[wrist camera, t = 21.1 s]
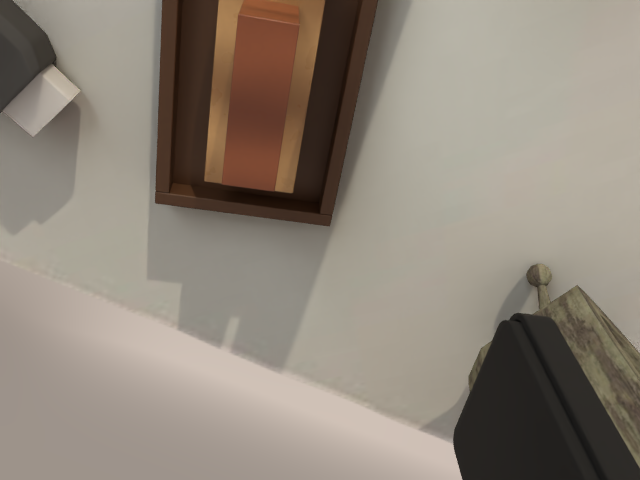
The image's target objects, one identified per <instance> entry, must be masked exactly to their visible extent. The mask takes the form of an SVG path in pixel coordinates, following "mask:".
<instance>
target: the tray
mask: <svg viewBox="0 0 640 480" xmlns="http://www.w3.org/2000/svg"><path fill="white" fill-rule="evenodd" d="M218 2H219V0H162V24H161V53H160V81H159V109H158V137H157V165H156V192H155V203H157V204H165V205H172V206H180V207H187V208H195V209H202V210H210V211H217V212H225V213H232V214H240V215H248V216H255V217H263V218H270V219H278V220H285V221H293V222H300V223H308V224H315V225H323V226H330V224H331V219H332V214H333V210H334V205H335V200H336V196H337V191H338V186H339V181H340V177H341V172H342V167H343V163H344V158H345V153H346V149H347V144H348V139H349V134H350V130H351V125H352V120H353V116H354V111H355V106H356V102H357V97H358V92H359V88H360V83H361V78H362V73H363V69H364V64H365V59H366V55H367V50H368V45H369V41H370V36H371V31H372V27H373V22H374V17H375V12H376V8H377V3H378V0H325V6H324V12H323V18H322V24H321V30H320V36H319V42H318V48H317V53H316V59H315V65H314V71H313V77H312V83H311V89H310V95H309V101H308V107H307V113H306V119H305V125H304V131H303V136H302V142H301V148H300V154H299V160H298V166H297V172H296V178H295V184H294V190H293V193H287V192H279V191H274V192H273V191H266V190H258V189H251V188H244V187H236V186H229V185H222V184H221V183H214V182H207V181H204V176H205V163H206V151H207V138H208V126H209V114H210V101H211V89H212V77H213V64H214V52H215V39H216V27H217V15H218Z"/></svg>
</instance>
